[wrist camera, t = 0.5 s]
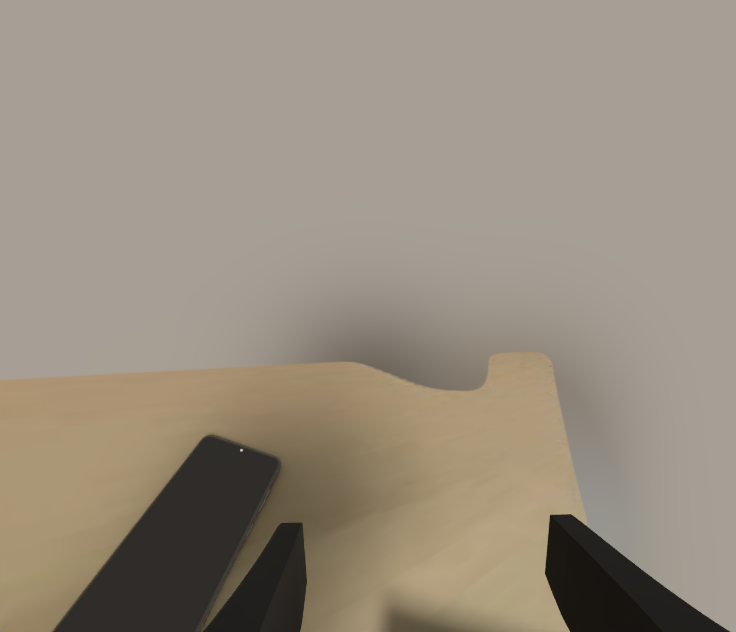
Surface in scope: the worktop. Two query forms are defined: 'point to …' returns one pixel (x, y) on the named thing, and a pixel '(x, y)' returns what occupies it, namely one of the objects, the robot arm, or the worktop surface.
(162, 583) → the smartphone
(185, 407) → the worktop surface
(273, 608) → the robot arm
